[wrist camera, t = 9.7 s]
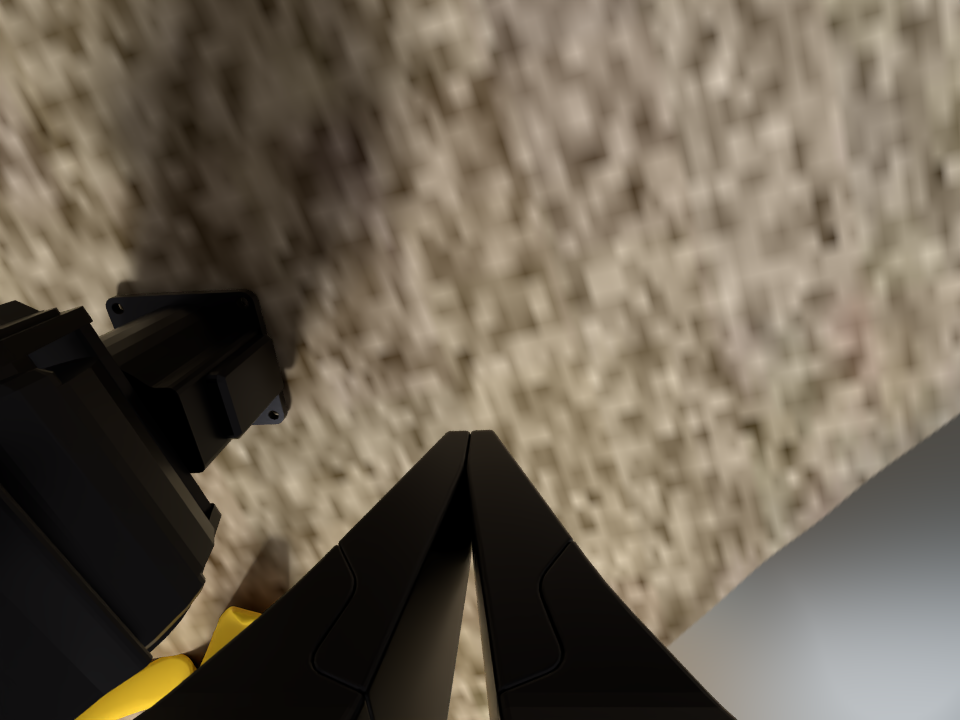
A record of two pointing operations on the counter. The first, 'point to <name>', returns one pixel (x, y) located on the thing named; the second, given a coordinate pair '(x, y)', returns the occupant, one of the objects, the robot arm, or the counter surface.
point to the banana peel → (164, 673)
